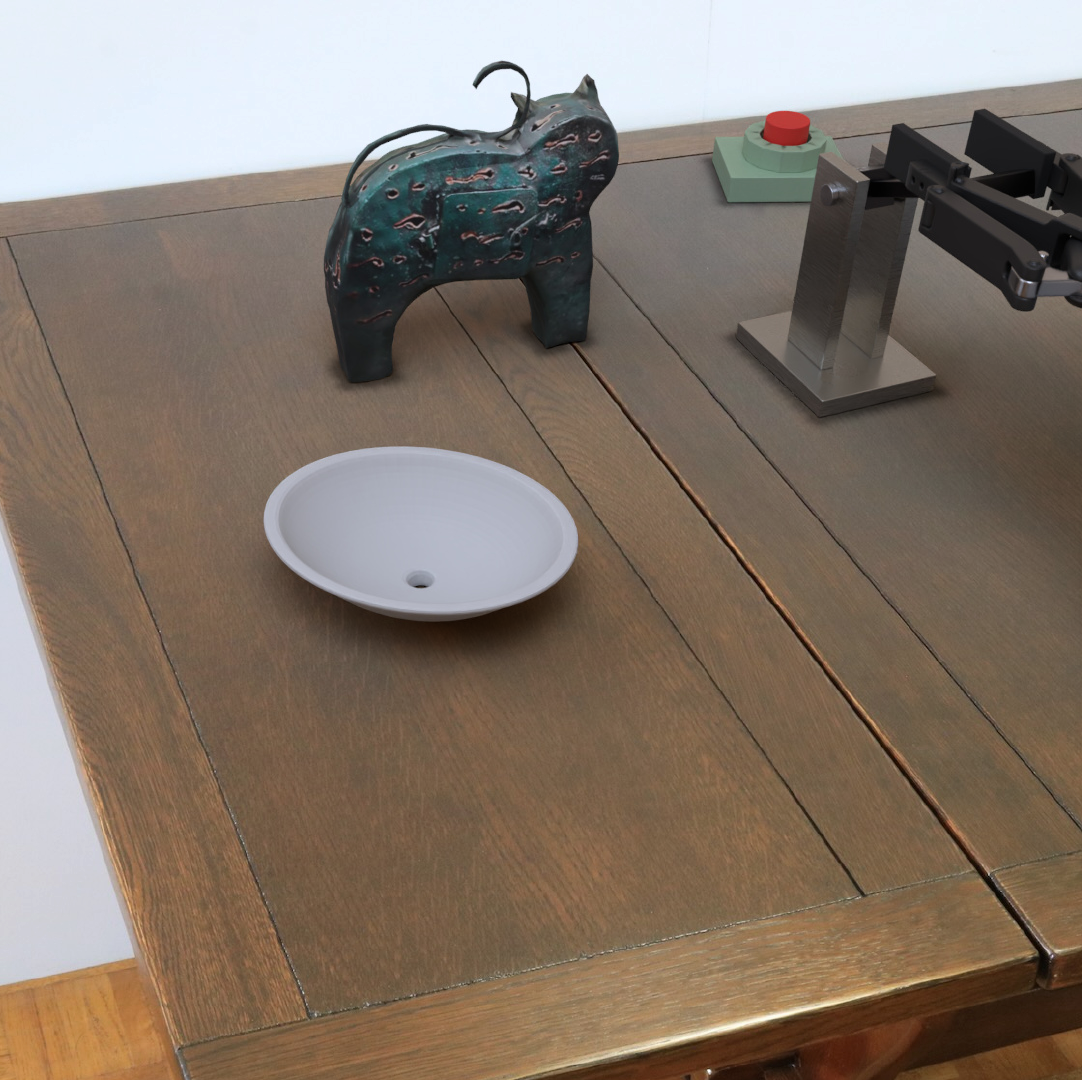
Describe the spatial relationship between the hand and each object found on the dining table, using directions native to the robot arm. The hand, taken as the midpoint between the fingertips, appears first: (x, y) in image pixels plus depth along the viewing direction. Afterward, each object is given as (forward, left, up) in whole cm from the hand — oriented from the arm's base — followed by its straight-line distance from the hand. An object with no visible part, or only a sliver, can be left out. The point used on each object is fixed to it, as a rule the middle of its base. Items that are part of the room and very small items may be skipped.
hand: (934, 139), depth 90 cm
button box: (0, -34, -18) cm, 39 cm away
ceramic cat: (+27, -7, -19) cm, 33 cm away
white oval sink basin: (+31, +19, -19) cm, 41 cm away
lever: (0, 0, -4) cm, 4 cm away
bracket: (+2, -5, -18) cm, 19 cm away
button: (0, -34, -15) cm, 37 cm away
